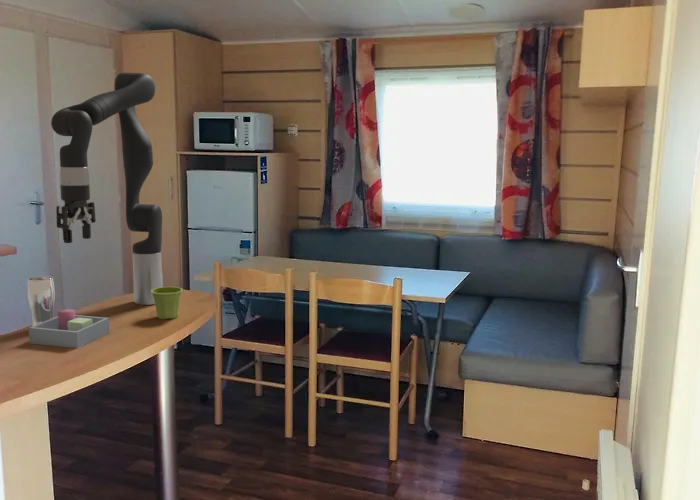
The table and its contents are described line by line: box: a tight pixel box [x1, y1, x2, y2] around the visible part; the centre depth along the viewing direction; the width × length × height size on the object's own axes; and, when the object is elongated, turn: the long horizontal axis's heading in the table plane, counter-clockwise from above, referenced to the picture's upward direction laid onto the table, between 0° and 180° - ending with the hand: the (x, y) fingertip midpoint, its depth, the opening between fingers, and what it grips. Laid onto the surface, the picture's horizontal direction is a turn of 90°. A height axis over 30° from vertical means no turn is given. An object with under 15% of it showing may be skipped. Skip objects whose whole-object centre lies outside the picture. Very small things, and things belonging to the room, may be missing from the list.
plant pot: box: [151, 286, 183, 320], centre depth 202 cm, size 9×9×9 cm
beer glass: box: [27, 275, 56, 327], centre depth 186 cm, size 7×7×15 cm
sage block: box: [67, 318, 93, 331], centre depth 178 cm, size 5×5×5 cm
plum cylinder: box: [57, 308, 76, 330], centre depth 182 cm, size 4×4×6 cm
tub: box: [28, 314, 110, 349], centre depth 180 cm, size 15×15×4 cm
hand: (77, 240), depth 184 cm, fingers open, 8 cm apart
